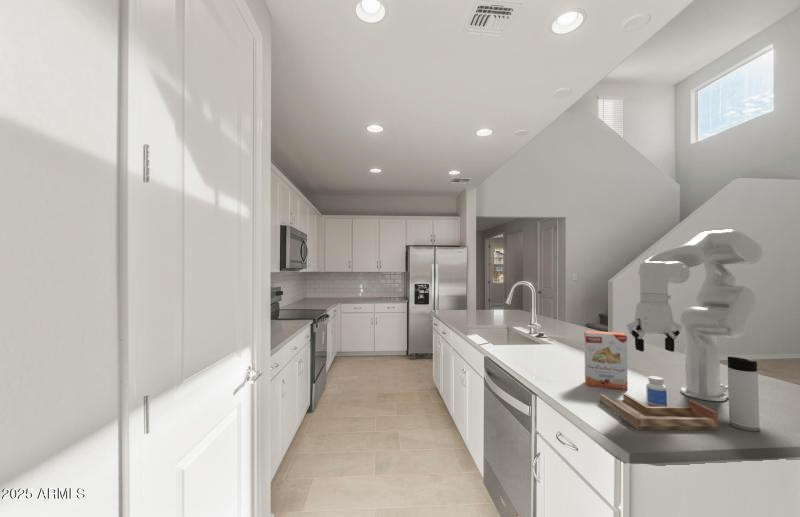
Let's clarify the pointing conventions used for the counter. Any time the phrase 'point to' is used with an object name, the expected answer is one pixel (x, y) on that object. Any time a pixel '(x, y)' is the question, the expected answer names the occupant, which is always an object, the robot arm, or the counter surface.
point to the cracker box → (606, 359)
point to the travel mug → (743, 394)
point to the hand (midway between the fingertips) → (654, 350)
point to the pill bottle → (656, 392)
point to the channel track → (663, 415)
